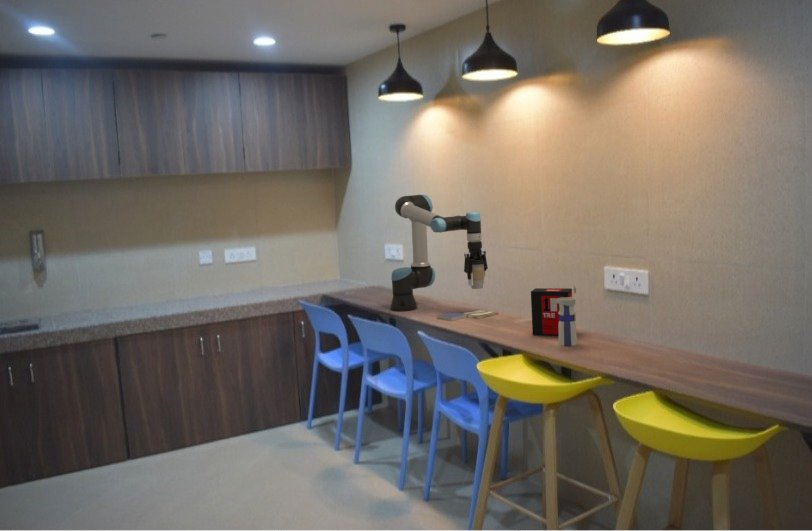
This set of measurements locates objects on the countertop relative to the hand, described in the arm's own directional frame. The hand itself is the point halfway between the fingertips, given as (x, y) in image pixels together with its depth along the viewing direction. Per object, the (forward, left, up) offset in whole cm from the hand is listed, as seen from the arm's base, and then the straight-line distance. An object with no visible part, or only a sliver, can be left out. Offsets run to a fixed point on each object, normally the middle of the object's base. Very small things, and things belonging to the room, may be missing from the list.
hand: (476, 284), depth 365 cm
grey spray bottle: (+77, -24, -17) cm, 83 cm away
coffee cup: (0, 0, -2) cm, 2 cm away
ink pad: (-6, -13, -17) cm, 22 cm away
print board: (0, 0, -17) cm, 17 cm away
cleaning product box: (+60, -12, -17) cm, 64 cm away
